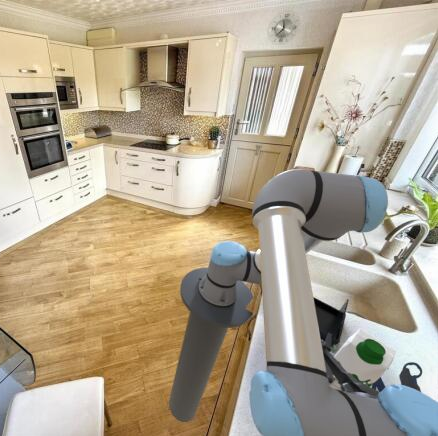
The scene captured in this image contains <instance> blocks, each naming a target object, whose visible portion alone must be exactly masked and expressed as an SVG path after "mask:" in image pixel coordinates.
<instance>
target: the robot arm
mask: <svg viewBox="0 0 438 436" xmlns="http://www.w3.org/2000/svg"><path fill="white" fill-rule="evenodd" d="M388 206H389V197H388V191H387V189H386V187H385V186H384V184H383V182H381V181H379V180H378V179H375V178H373V177H368V176H362V175H360V174H348V173H347V174H346V173H338V172H328V171H321V170H310V169H304V168H296V169H289V170H286V171H283V172H281V173H279V174H277V175H275V176H273V177H272V178H271V179H270V180H268V181H267V182H266V183H265V184H264V185H263V186H262V188H260V190H259V191H258V192H257V195H256V197H255V200H254V202H253V205H252V213H251V214H252V225H253V227H254V228H255V229H256V230H258V244H259V245H258V246H259V248H258V249H257V250H256V251H252V250H247V248H246V247H245V246H244V245H243V244H239V242H236V241H230V240H228V241H227V240H225V241H221V242H218V243H217V244H215V245H214V246H213V248H212V251H211V254H210V258H209V261H208V267H207V268H208V270H207V273H206V275H205V276H204V277H203V278H199V280H201V281H200V283H199V287H198V291H199V294H200V296H201V297H202V298H203V299H204V300H205V301H206V302H207V303H209V304H211V305H213V306H216V307H222V308H224V307H229V306H231V305H233V304H234V302H235V300H236V297H237V290H236V282H237V280H238V281H242V282H243V283H249V284H255V285H259V286H261V294H262V296H261V297H262V311H263V313H262V314H263V325H264V326H263V328H264V343H265V344H264V345H265V361H266V370H265V371H261V370H260V371H256V372H255V373H253V375H252V377H251V380H250V391H249V407H250V412H251V419H252V421H253V423H254V426H255V428H256V430H257V431H258V433H259V434H260V435H261V436H438V401H436V400H435V399H433V398H432V397H430V396H429V395H428V394H425V393H423V392H422V389H421V387H420V385H419V384H417V383H415V382H414V380H413V377H412V373H411V371H410V368H409V367H406V366H403V367H402V369H401V371H400V373H399V375H398V377H399V381H400V383H398V384H397V383H394V384H390V385H387V386H385V387H384V388H383V389H382V390H381V391H379V390H377V389H375V388H373V387H371V386H370V387H368V386H367V385H365V384H364V383H362V382H360V381H357V380H356V379H355V378H354V376H353V375H352V374H351V373H348V372H347V371H346V370H345V369H344V368H343V367H342V366H341V365H340V363H339V362H338V361H337V360H336V359H335V358H334V355H333V354H332V353H331V351H332V350H331V341H332V334H331V333H329V332H328V335H327V337H326V340H325V341H323V340H321V338H320V333H319V327H318V321H317V316H316V310H315V304H314V298H313V297H314V292H313V288H312V283H311V276H310V269H309V265H308V264H309V263H308V259H307V254H308V253H309V252H310V251H312V250H313V249H315V247H317V246H318V245H320V244H321V243H323V242H332V241H333V242H334V241H336V240H338V239H341V237H343V236H344V235H346V234H347V233H348V232H356V233H359V234H361V233H370V232H372V231H375V230H376V229H377V228H379V226H380V225H381V224H382V222H383V221H384V219H385V217H386V214H387V210H388ZM335 378H336V379H337V380H338V382H339V383H338V382H337V381H336V379H335ZM349 381H350V382H349Z"/></svg>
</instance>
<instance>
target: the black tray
mask: <svg viewBox="0 0 438 436" xmlns="http://www.w3.org/2000/svg"><path fill="white" fill-rule="evenodd" d="M313 298H314V304H315V310H316V316H317V321H318V327H319V333H320V338H321V340H323V341H325V340H326V337H327V335H328V332H329V333H331V334H332V341H331V350H330V351H331V352H335V351H336V348H337V345H339V344H340V342H341V337H342V333H343V329H344V325H345V321H346V317H347V313H346V312H347V309H348V304H349V298H347V299H346V300H345V301H344V303H343V305H342V306H341V308H340V309H338V308H336V307H334V306H332V305H330V304H328V303H327V302H324V301H323V300H320V299H319V298H317V297H315V296H313Z"/></svg>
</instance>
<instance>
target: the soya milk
mask: <svg viewBox="0 0 438 436" xmlns="http://www.w3.org/2000/svg"><path fill="white" fill-rule="evenodd" d="M396 353H397V350H395V349H394V348H392V347H391V346H389V345H387V344H386V343H384V342H383V341H381V340H380V339H378V338H376V337H375V336H374V335H372V334H371V333H369V332H368V331H366V330H364V329H363V328H359V329H358V330H357V331H356V332H355V333H353V334H351V335H350V337H348V338H347V339H346V341H345V342H344V343H343V344H342V346H341V347H339V349H338V351H336V353H335V354H334V355H333V357H334V358H335V359H336V360H337V361H338V362H339V363H340V365H341V366H342V367H343V368H344V369H345V370H346V371H347V372H348V373H351V374H352V375H353V376H354V378H355V379H356V380H357V381H360V382H362V383H364V384H365V385H367V386H368V387H370V388H371V386H372V385H373V384H375V383H376V382H377V381H378V380H379V379H380V378H381V377H382V376H383V375H384V374H385V372H386V371H387V370H389V369H390V367H391V366H392V364H393V362H394V359H395V355H396ZM335 379H336V378H335ZM336 381H337V382H338V380H337V379H336ZM349 382H350V381H349ZM338 383H339V382H338Z"/></svg>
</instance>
